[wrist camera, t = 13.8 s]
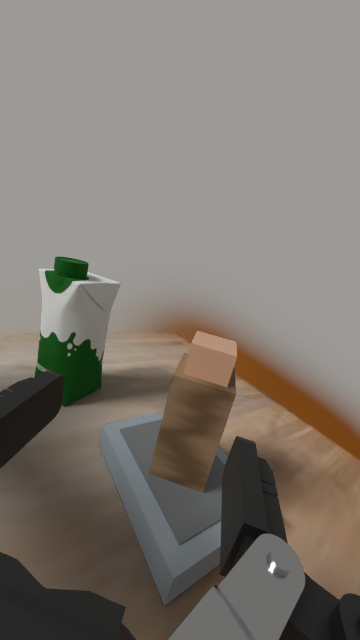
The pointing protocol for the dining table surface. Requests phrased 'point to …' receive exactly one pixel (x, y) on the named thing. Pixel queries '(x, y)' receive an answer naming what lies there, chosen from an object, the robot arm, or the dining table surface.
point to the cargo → (211, 358)
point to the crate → (191, 428)
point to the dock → (165, 506)
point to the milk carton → (74, 325)
